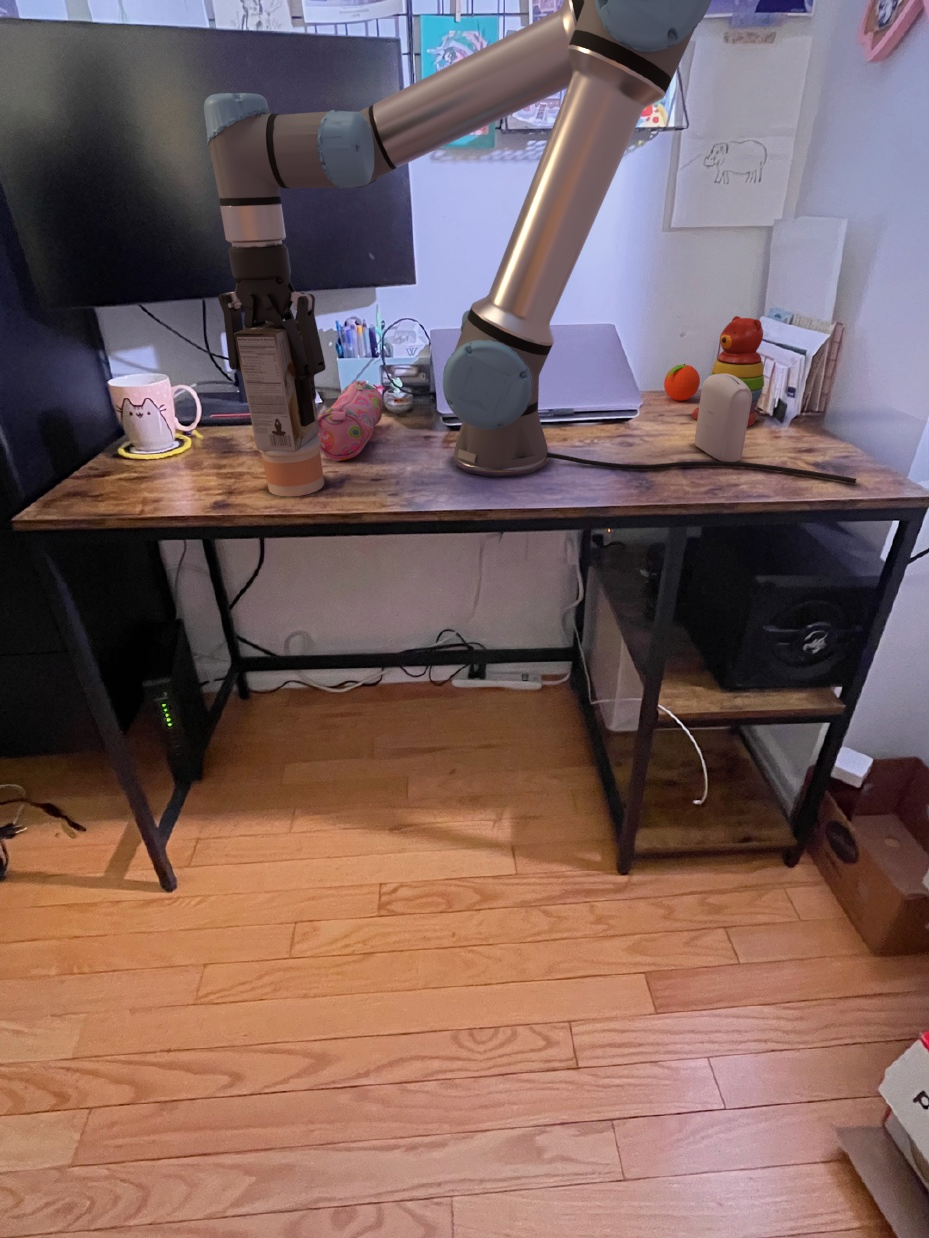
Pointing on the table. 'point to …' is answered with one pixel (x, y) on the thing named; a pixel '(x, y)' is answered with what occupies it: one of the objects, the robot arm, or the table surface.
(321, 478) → the yogurt pot
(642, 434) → the table surface
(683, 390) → the clementine
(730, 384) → the photo printer
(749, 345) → the stacking bear
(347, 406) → the pencil case
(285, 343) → the coffee box
